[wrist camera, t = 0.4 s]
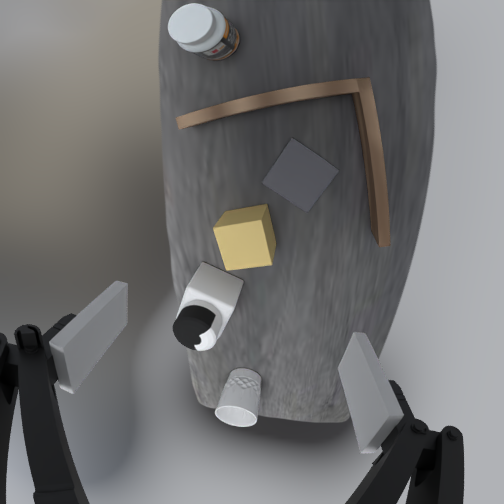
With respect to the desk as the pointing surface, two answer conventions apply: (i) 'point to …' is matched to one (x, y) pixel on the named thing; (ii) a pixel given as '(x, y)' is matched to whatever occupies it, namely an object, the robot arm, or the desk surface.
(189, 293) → the medicine bottle
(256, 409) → the white cup
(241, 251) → the cube
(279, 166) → the mat
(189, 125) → the angled wooden barrier
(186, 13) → the pill bottle
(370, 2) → the desk surface
